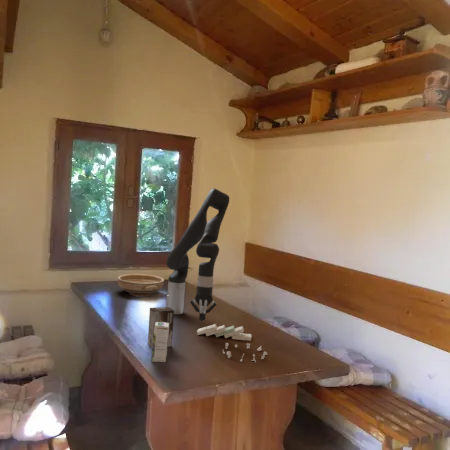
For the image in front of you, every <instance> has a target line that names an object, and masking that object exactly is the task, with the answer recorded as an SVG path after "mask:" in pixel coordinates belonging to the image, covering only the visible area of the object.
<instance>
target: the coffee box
mask: <svg viewBox="0 0 450 450" xmlns="http://www.w3.org/2000/svg"><path fill="white" fill-rule="evenodd" d="M174 315H175V314H174V310H173V309H171V308H170V307H166V306H164V307H163V306H161V307H158V306H157V307H149V316H148V319H149V320H148V331H147V332H148V333H147V344H148V345H149V347H150V348H153V337H154V327H155V323H156V322H165V323H169V334H168V345H167V348H168V347H173V333H174V317H175V316H174Z"/></svg>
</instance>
